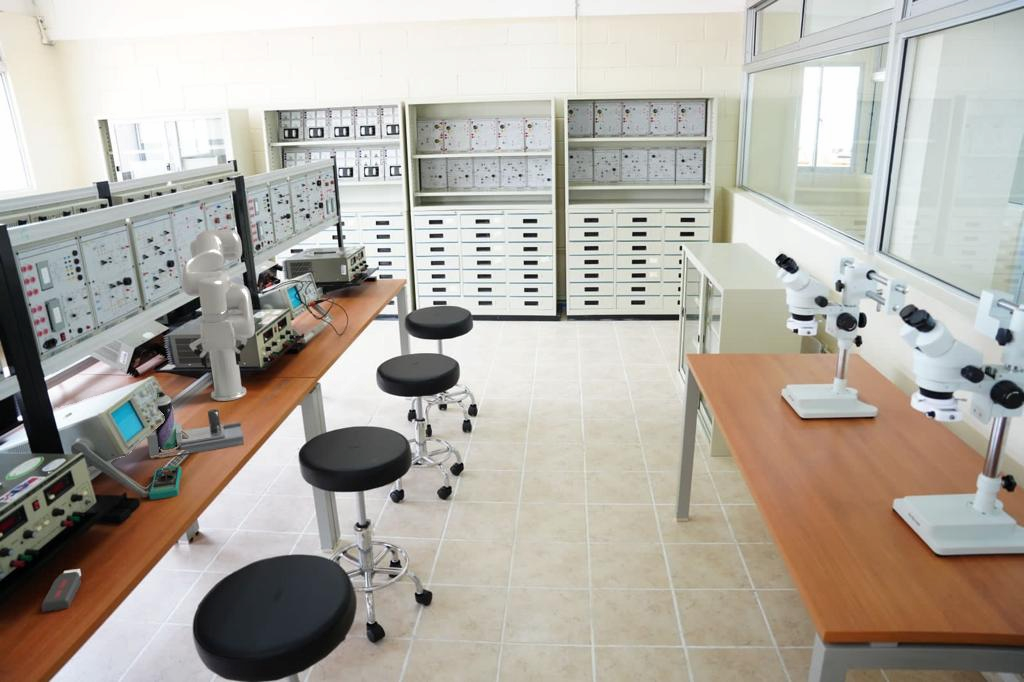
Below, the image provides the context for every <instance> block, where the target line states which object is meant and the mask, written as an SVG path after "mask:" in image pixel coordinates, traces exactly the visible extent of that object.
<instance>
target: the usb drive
mask: <svg viewBox="0 0 1024 682" xmlns="http://www.w3.org/2000/svg"><path fill="white" fill-rule="evenodd" d="M81 572H82V571H81V568H77V569H75V568H74V569H68V570H64V571H63V573H61V574H59V575H58V577H56V579H54V581H53V583H52V585H51V587H50V589H49V590H48V592H47V594H46V596H45V598H44V599H43V602H42V604H41V611H42V613H44V612H46V611H47V612H52V610H54V611H59V610H58V609H60V610H65V609H64V608H67V609H69V608H70V607H71V605H72V603H73V601H74V599H75V597H76V595H77V593H78V591H79V589H78V588H80V587H79V586H81V585H82V581H81V576H82V573H81ZM77 590H78V591H77ZM76 592H77V593H76ZM75 594H76V595H75ZM74 596H75V597H74ZM73 598H74V599H73ZM72 600H73V601H72ZM71 602H72V603H71ZM70 604H71V605H70ZM69 606H70V607H69ZM68 607H69V608H68Z"/></svg>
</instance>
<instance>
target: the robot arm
mask: <svg viewBox="0 0 1024 682" xmlns="http://www.w3.org/2000/svg"><path fill="white" fill-rule="evenodd" d="M189 251H190V254H191V258H190V259H189V260H188V261H187V262H185V264H184V265H183V267H182V272H181V274H182V275H181V277H182V279H181V282H182V289H183V291H184V293H185V294H186V295H187V296H189V297H190V296H191V297H199V302H200V309H201V316H202V317H201V318H202V319H201V320H200V325H199V326H200V327H199V329H200V330H199V331H200V338H198V339H196V340H194V341H193V342H191V343H190V344H189V348H190V349H191V350H192V351H193V353H194V354H196V355H197V356H198V357H200V361H201V362H200V363H201V366H202V367H204V370H206V369H208V362H207V355H206V354H207V353H208V352H209V359H210V365H211V366H210V367H211V371H212V372H211V374H212V379H213V387H214V390H213V391H211V393H210V397H211V399H212V400H214V401H218V402H228V401H235V400H237V399H241V398H242V397H244V396H245V395H247V389H246V387H244V386H242V379H241V371H240V363H239V362H242V361H241V352H242V351H243V350H244V349H245V347H246V344H247V342H248V339H249V338H252V337H253V336H254V335H255V329H256V328H255V327H256V326H255V319H254V311H253V310H254V309H253V304H252V303H253V302H252V298H251V297H252V296H251V292H250V289H249V288H248V287H247V286H246V285H243V284H234V285H232V279H231V276H230V275H229V273H228V272H226V271H225V270H224V269H223V267H222V266H223V264H224V262H225V261H235V260H239V259H241V257H242V255H243V245H242V240H241V237H240V235H239V233H238V232H237V231H236V230H234V229H213V230H212V229H209V230H203V231H201V232H200V233H198V234H197V236H196V238H195V240H192V241H191V242H190V245H189ZM234 311H235V312H236V311H237V312H239V313H233V312H234ZM237 341H241V343H240V344H239V345H237ZM200 344H201V347H202V349H201V350H200V349H199V348H197V347H198V345H200Z"/></svg>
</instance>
